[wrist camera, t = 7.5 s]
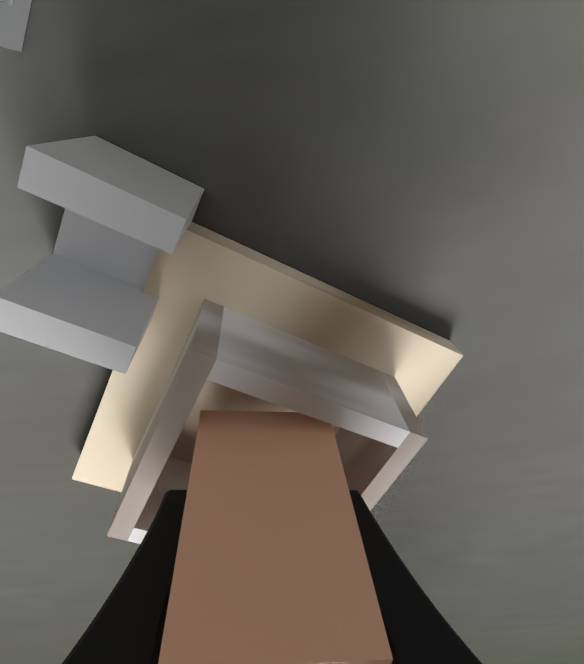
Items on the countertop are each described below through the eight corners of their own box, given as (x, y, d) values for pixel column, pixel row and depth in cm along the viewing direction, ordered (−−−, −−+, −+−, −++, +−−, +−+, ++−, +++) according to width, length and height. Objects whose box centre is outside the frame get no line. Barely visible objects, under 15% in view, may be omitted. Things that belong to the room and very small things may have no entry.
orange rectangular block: (328, 412, 12) (392, 659, 6) (314, 501, 13) (356, 758, 8) (200, 410, 11) (156, 671, 6) (201, 502, 13) (167, 773, 8)
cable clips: (284, -11, 10) (302, -75, 7) (157, 308, 13) (125, 374, 10) (-108, -272, 8) (-387, -569, 4) (-141, 190, 11) (-312, 224, 8)
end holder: (450, 341, 15) (513, 412, 11) (315, 523, 19) (330, 620, 15) (175, 213, 12) (143, 255, 8) (81, 458, 16) (32, 558, 12)
